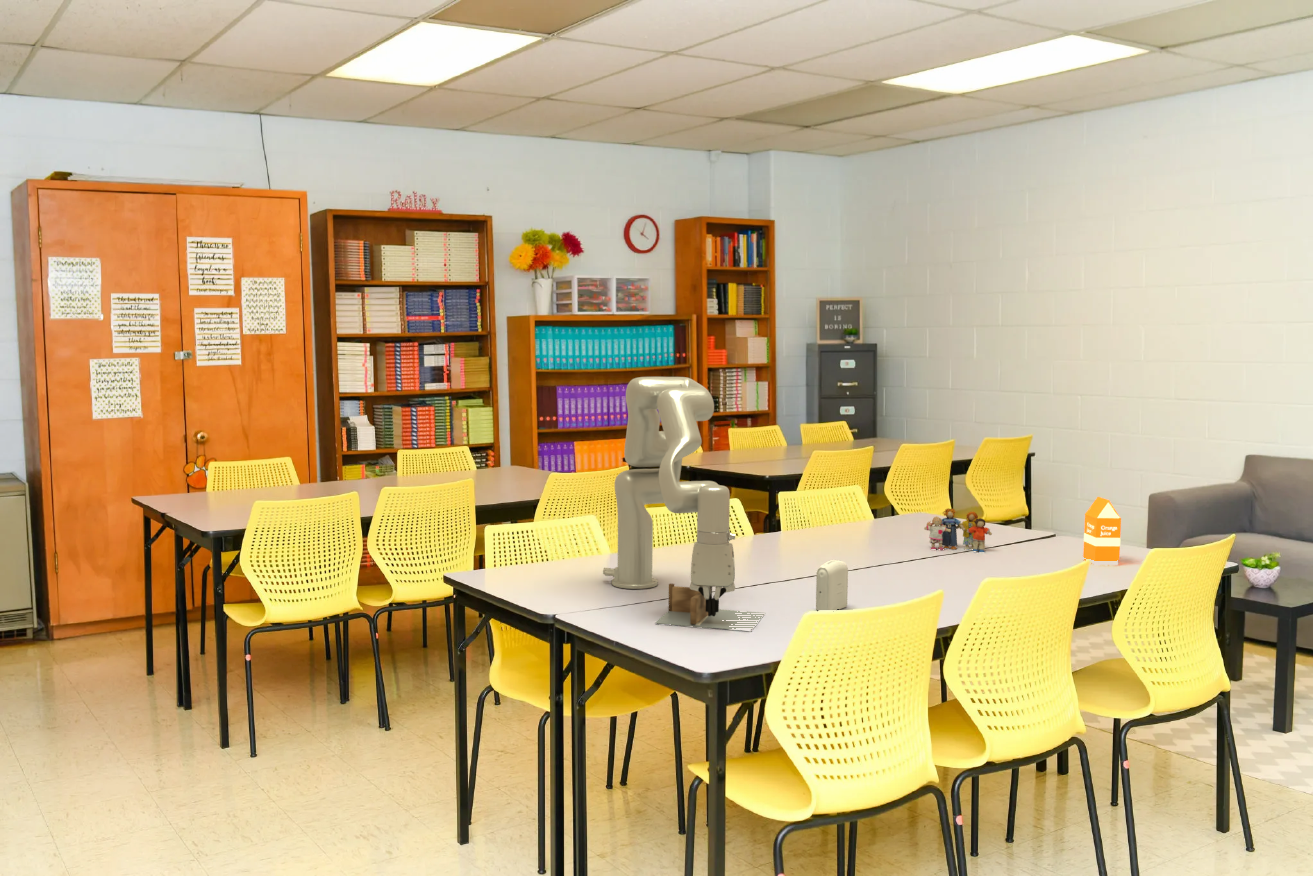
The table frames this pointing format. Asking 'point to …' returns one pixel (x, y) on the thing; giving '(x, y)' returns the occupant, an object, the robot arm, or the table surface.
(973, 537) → the doll family
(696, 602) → the fence gate
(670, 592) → the fence fixed
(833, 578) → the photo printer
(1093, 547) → the orange juice
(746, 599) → the table surface
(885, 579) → the table surface
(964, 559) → the table surface
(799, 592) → the table surface
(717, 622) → the card
